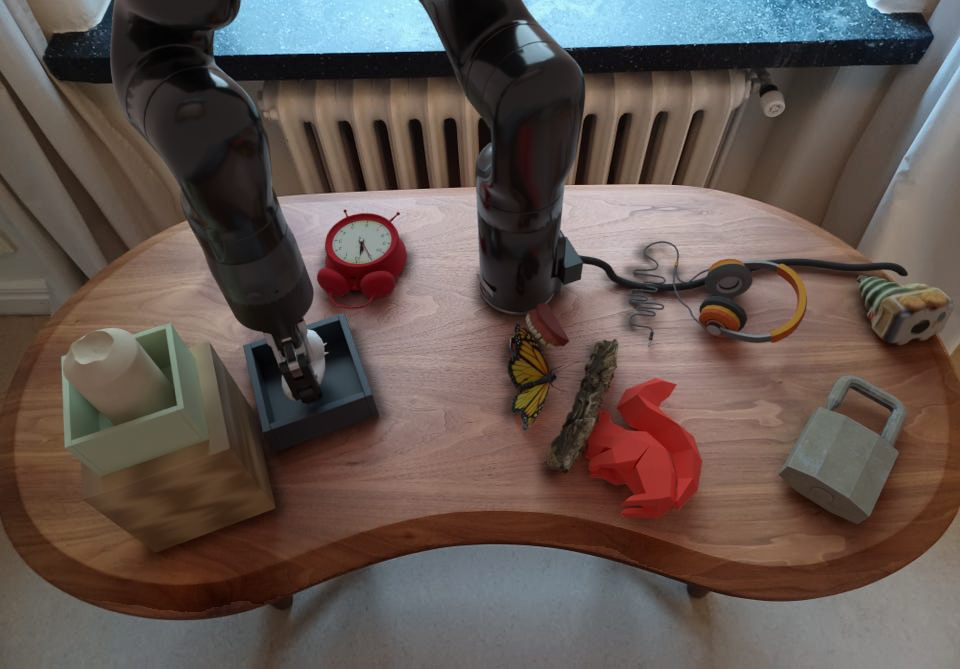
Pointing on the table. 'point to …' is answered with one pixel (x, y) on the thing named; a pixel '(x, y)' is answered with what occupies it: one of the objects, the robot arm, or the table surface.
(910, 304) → the ornament
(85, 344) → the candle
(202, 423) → the pale bin
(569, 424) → the bark log
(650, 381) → the animal figurine
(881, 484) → the padlock
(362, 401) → the dark bin
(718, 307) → the headphones
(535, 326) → the dentures model
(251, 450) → the stand
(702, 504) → the table surface
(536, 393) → the butterfly
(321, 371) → the toy creature
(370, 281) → the alarm clock
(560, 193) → the robot arm
